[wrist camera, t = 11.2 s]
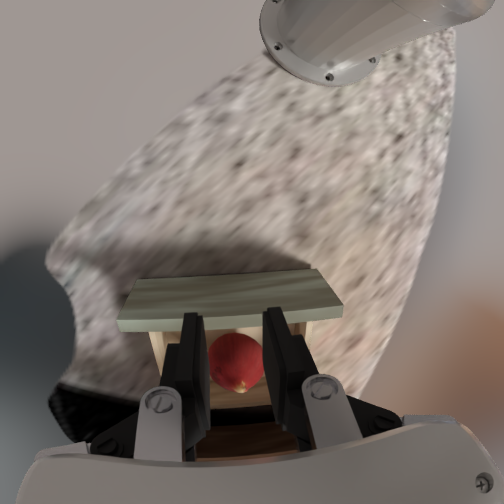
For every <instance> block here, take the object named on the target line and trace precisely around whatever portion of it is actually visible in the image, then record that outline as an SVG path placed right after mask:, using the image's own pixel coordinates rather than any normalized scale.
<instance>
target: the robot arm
mask: <svg viewBox="0 0 504 504" xmlns="http://www.w3.org/2000/svg"><path fill="white" fill-rule="evenodd" d="M494 1H495V0H266V1H265V3H264V5H263V8H262V10H261V14H260V19H259V23H260V33H261V36H262V40H263V42H264V44H265V46H266V48H267V50H268V51H269V53H270V54H271V55H272V57H273V58H274V59H275V60H276V61H277V62H278V63H279V64H280V65H281V66H282V67H283V68H284V69H286V70H287V71H289V72H290V73H292V74H293V75H294V76H296V77H299V78H301V79H303V80H305V81H307V82H310V83H313V84H316V85H322V86H328V87H341V86H346V85H350V84H353V83H356V82H359V81H361V80H362V79H364V78H366V77H367V76H369V75H370V74H371V73H372V72H373V71H374V70H375V68H376V67H377V65H378V63H379V61H380V58H381V55H382V53H384V52H386V51H389V50H391V49H393V48H396V47H398V46H400V45H403V44H405V43H408V42H410V41H413V40H416V39H418V38H421V37H424V36H426V35H429V34H432V33H435V32H438V31H440V30H443V29H446V28H450V27H453V26H456V25H459V24H462V23H465V22H469V21H472V20H474V19H477V18H479V17H480V16H482V15H484V14H485V13H486V12H487V11H488V10H489V9H490V8H491V6H492V5H493V3H494ZM274 2H276V3H274ZM274 47H278V48H279V50H276V49H275V48H274ZM325 77H328V79H329V80H328V81H327V80H326V78H325ZM262 360H263V367H264V372H265V377H266V381H267V386H268V390H269V395H270V400H271V404H272V409H273V413H274V418H275V422H276V424H281V427H282V431H286V430H287V432H289V433H291V434H293V435H294V439H295V444H296V449H297V453H294V454H288V455H281V456H274V457H266V458H256V459H246V460H232V461H210V462H197V453H196V443H197V442H199V441H200V440H201V439H202V438H203V437H206V430H210V365H209V357H208V350H207V343H206V336H205V328H204V321H203V315H198V313H197V312H188V313H184V318H183V324H182V330H181V337H180V343H168V344H167V348H166V353H165V358H164V363H163V369H162V374H161V380H160V386H159V387H155V388H152V389H150V390H148V391H147V392H145V394H144V395H143V396H142V398H141V401H140V408H139V411H137V412H136V413H134V414H133V415H131V416H129V417H128V418H126V419H124V420H123V421H121V422H119V423H118V424H116V425H114V426H113V427H111V428H109V429H108V430H106V431H104V432H103V433H101V434H99V435H98V436H96V437H95V438H94V439H93V441H92V442H91V443H89V444H87V443H86V442H80V443H75V444H71V445H65V446H59V447H53V448H47V449H43V450H40V451H39V452H38V453H37V454H36V456H35V458H34V463H33V464H32V466H31V467H30V468H29V470H28V471H27V473H26V475H25V477H24V479H23V481H22V484H21V487H20V489H19V492H18V495H17V499H16V502H15V504H504V478H503V476H502V474H501V473H500V471H499V469H498V467H497V465H496V464H495V462H494V461H493V459H492V458H491V456H490V455H489V453H488V452H487V450H486V449H485V448H484V446H483V445H482V443H481V442H480V441H479V440H478V439H477V437H476V436H475V435H474V434H473V433H472V432H471V431H470V430H469V429H468V428H467V427H465V426H464V425H462V424H460V423H458V422H457V421H456V420H455V419H454V418H453V417H451V416H447V415H404V416H403V417H399V416H398V415H396V414H395V413H393V412H392V411H390V410H387V409H384V408H381V407H378V406H375V405H372V404H370V403H367V402H364V401H362V400H359V399H356V398H354V397H351V396H348V395H346V394H345V391H344V389H343V386H342V384H341V383H340V381H339V380H338V379H336V378H335V377H333V376H330V375H326V374H319V372H318V370H317V368H316V365H315V363H314V361H313V358H312V356H311V354H310V351H309V349H308V347H307V344H306V342H305V340H304V337H303V335H302V334H298V335H291V333H290V330H289V327H288V325H287V322H286V319H285V317H284V314H283V311H282V309H281V307H280V306H279V307H268V308H267V311H263V313H262Z"/></svg>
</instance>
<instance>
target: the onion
mask: <svg viewBox="0 0 504 504" xmlns="http://www.w3.org/2000/svg"><path fill="white" fill-rule="evenodd" d="M208 357H209V365H210V376H211V378H212V380H213V381H214V382H215V383H216V384H218V385H219V386H220V387H222V388H223V389H225V390H229V391H234V392H238V393H244V392H246V391H248V389H249V388H251V387H252V386H254V385H255V384H256V383H257V382H258V381H259V380H260V379H261V377H262V376H263V373H264V367H263V360H262V346H261V345H260V344H259V343H258V342H257V341H256V340H255V339H253V338H252V337H250V336H248V335H245V334H242V333H236V332H233V333H227V334H224V335H222V336H220V337H218V338H217V339H216V340H215V341H214V342H213V343H212V345H211V346H210V347H209V350H208Z"/></svg>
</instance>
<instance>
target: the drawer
mask: <svg viewBox="0 0 504 504" xmlns="http://www.w3.org/2000/svg"><path fill="white" fill-rule="evenodd" d="M279 306H280V307H281V309H282V311H283V314H284V317H285V319H286V322H287V325H288V327H289V330H290V333H291V335H298V334H302V335H303V337H304V340H305V342H306V344H307V347H308V349H309V351H310V343H311V334H312V325H313V321H317V320H325V319H333V318H340V317H342V314H343V307H344V305H343V303H342V302H341V301H340V299H339V298H338V297H337V295H336V294H335V293H334V291H333V290H332V288H331V287H330V286H329V284H328V283H327V282H326V280H325V279H324V278H323V276H322V275H321V274H320V272H319V271H318V270H317V269H305V270H291V271H277V272H263V273H247V274H231V275H215V276H197V277H178V278H158V279H137V281H136V282H135V284H134V286H133V288H132V290H131V292H130V294H129V296H128V298H127V300H126V302H125V304H124V306H123V308H122V310H121V312H120V314H119V316H118V318H117V324H118V327H119V330H120V332H149V336H150V340H151V343H152V347H153V351H154V354H155V358H156V362H157V365H158V368H159V372H160V375H161V374H162V369H163V363H164V358H165V353H166V348H167V344H168V343H180V337H181V330H182V324H183V318H184V313H188V312H197V313H198V315H203V321H204V328H205V336H206V343H207V350H209V347H210V346H211V345H212V343H213V342H214V341H215V340H216V339H217V338H218V337H220V336H222V335H224V334H227V333H233V332H236V333H242V334H245V335H248V336H250V337H252V338H253V339H255V340H256V341H257V342H258V343H259V344H260V345H261V346H262V313H263V311H267V308H268V307H279ZM270 404H271V400H270V395H269V390H268V386H267V381H266V377H265V372H264V373H263V376H262V377H261V379H260V380H259V381H258V382H257V383H256V384H255V385H254V386H252V387H251V388H249V389H248V391H246V392H244V393H238V392H234V391H229V390H225V389H223V388H222V387H220V386H219V385H218V384H216V383H215V382H214V381H213V380H212V378H211V376H210V409H224V408H239V407H251V406H261V405H270Z"/></svg>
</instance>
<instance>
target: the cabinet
mask: <svg viewBox="0 0 504 504" xmlns="http://www.w3.org/2000/svg"><path fill="white" fill-rule="evenodd" d="M196 453H197V462H210V461H232V460H246V459H256V458H266V457H274V456H281V455H288V454H294V453H297V449H296V444H295V439H294V435H293V434H291V433H289V432H287V430H286V431H282V427H281V424H276V422H275V421H273V422H264V423H255V424H244V425H230V426H210V430H206V437H203V438H202V439H201V440H200V441H199V442H197V443H196Z"/></svg>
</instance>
